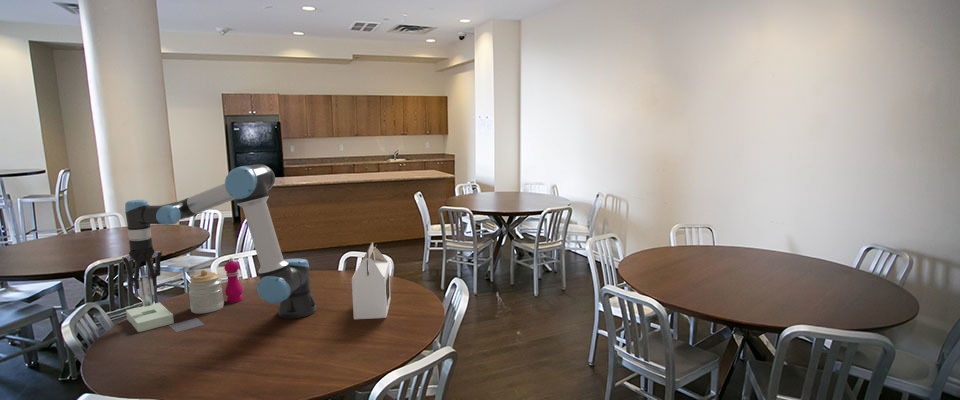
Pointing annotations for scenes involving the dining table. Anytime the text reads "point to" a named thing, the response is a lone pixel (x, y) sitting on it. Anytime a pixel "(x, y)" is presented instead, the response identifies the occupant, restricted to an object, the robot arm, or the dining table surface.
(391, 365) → the dining table surface
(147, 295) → the pin
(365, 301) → the gable box
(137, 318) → the socket block
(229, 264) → the pepper mill
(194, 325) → the mat
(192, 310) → the jar
